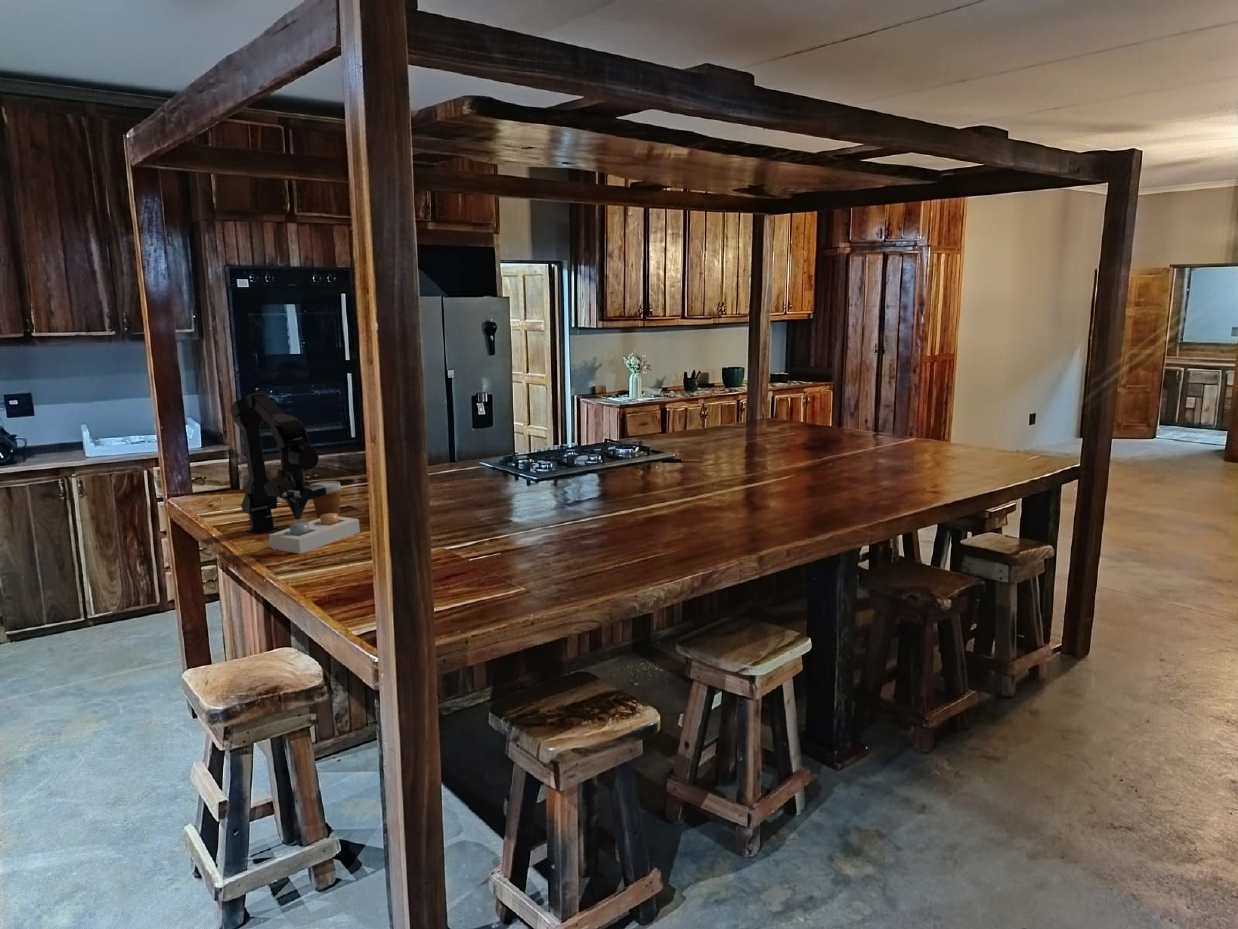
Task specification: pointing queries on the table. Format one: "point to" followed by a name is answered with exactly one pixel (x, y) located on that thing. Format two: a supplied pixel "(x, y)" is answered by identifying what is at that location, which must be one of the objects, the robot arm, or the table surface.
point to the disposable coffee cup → (328, 499)
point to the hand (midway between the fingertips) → (298, 519)
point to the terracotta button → (329, 519)
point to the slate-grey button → (299, 529)
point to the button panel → (314, 535)
